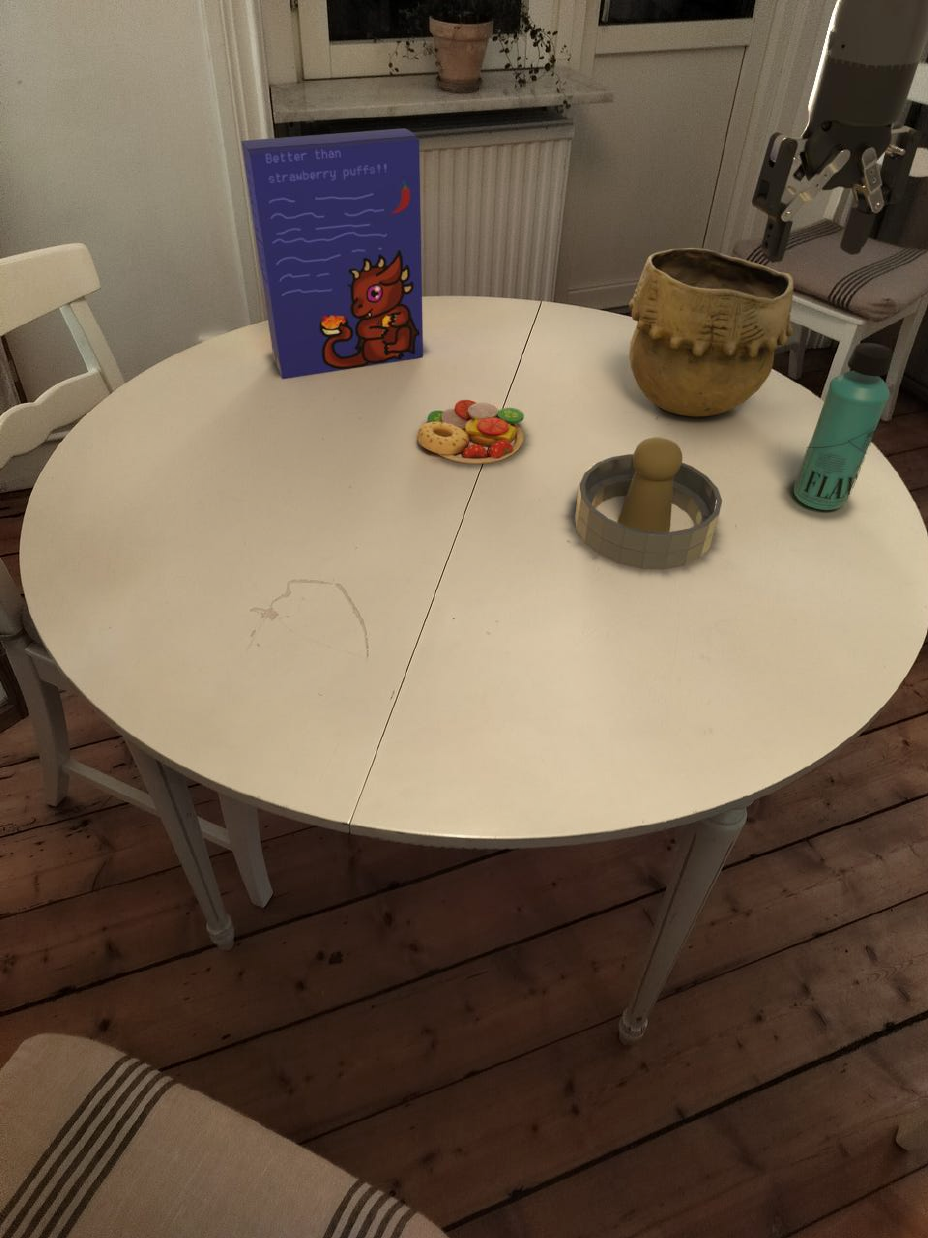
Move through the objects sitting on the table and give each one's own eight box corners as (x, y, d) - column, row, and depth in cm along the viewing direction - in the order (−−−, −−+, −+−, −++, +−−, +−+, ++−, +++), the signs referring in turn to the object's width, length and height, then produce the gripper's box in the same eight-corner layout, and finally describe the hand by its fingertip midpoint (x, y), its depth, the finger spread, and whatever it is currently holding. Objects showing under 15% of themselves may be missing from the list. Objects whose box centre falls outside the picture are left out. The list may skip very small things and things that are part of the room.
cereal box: (411, 340, 132) (405, 125, 111) (423, 357, 128) (419, 137, 107) (274, 361, 126) (240, 138, 105) (282, 378, 122) (249, 150, 101)
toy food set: (408, 459, 107) (407, 437, 104) (440, 410, 116) (440, 388, 114) (508, 477, 104) (509, 455, 102) (533, 426, 113) (535, 404, 111)
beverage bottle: (786, 514, 99) (841, 357, 86) (789, 485, 104) (842, 331, 90) (843, 526, 98) (909, 367, 84) (844, 495, 102) (906, 340, 89)
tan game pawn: (677, 522, 97) (697, 439, 89) (658, 549, 93) (677, 466, 85) (628, 506, 99) (644, 424, 91) (608, 532, 95) (623, 449, 88)
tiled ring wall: (732, 525, 98) (744, 486, 94) (671, 594, 89) (681, 553, 85) (617, 478, 104) (623, 439, 101) (548, 537, 95) (553, 497, 92)
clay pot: (681, 358, 129) (709, 222, 115) (796, 415, 117) (843, 271, 103) (583, 397, 119) (601, 254, 105) (697, 463, 107) (734, 312, 93)
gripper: (824, 63, 63) (767, 278, 74) (976, 56, 66) (899, 263, 78) (769, 45, 68) (724, 248, 80) (913, 39, 72) (850, 235, 83)
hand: (811, 255), depth 79 cm, fingers open, 8 cm apart
